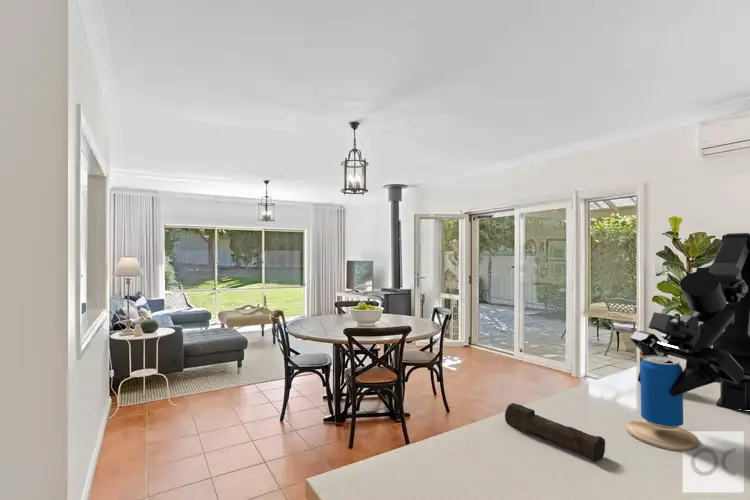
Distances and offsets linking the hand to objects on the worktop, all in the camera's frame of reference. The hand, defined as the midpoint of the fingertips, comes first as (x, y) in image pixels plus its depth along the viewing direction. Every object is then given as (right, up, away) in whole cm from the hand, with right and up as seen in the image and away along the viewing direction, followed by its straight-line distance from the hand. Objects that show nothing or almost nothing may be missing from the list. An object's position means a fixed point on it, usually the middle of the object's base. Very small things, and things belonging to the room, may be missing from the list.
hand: (655, 388), depth 75 cm
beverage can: (+1, -7, 0) cm, 7 cm away
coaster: (+1, -9, 0) cm, 9 cm away
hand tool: (-21, -10, -1) cm, 23 cm away
